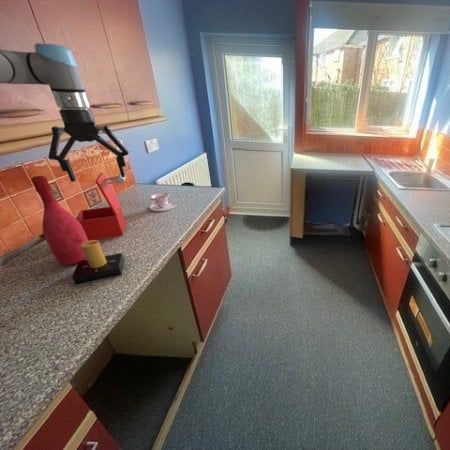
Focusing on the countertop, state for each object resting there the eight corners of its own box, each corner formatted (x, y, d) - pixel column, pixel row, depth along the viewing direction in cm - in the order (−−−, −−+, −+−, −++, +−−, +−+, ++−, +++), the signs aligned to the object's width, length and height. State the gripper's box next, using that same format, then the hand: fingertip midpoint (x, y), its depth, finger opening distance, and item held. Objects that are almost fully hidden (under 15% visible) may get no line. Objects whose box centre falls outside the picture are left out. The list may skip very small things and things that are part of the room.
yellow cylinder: (88, 269, 79) (78, 247, 75) (91, 262, 82) (82, 240, 78) (105, 266, 80) (96, 244, 76) (107, 258, 84) (99, 237, 80)
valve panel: (75, 284, 77) (71, 277, 75) (82, 268, 84) (78, 260, 82) (121, 274, 82) (118, 267, 80) (124, 259, 89) (121, 252, 87)
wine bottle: (52, 269, 83) (5, 182, 69) (66, 252, 91) (26, 172, 77) (87, 264, 86) (49, 180, 71) (98, 248, 94) (65, 171, 80)
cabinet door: (94, 181, 91) (120, 175, 94) (100, 172, 100) (123, 167, 103) (115, 215, 99) (137, 209, 101) (118, 204, 108) (139, 199, 110)
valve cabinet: (82, 242, 97) (73, 222, 93) (88, 228, 107) (80, 210, 102) (123, 235, 103) (116, 216, 99) (125, 223, 112) (119, 205, 108)
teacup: (171, 200, 136) (168, 190, 133) (179, 207, 128) (176, 196, 126) (146, 206, 129) (143, 194, 126) (153, 214, 121) (150, 202, 118)
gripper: (11, 109, 65) (47, 186, 75) (124, 109, 76) (142, 177, 86) (22, 107, 71) (54, 179, 81) (125, 108, 82) (142, 171, 92)
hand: (99, 178), depth 83 cm, fingers open, 13 cm apart
